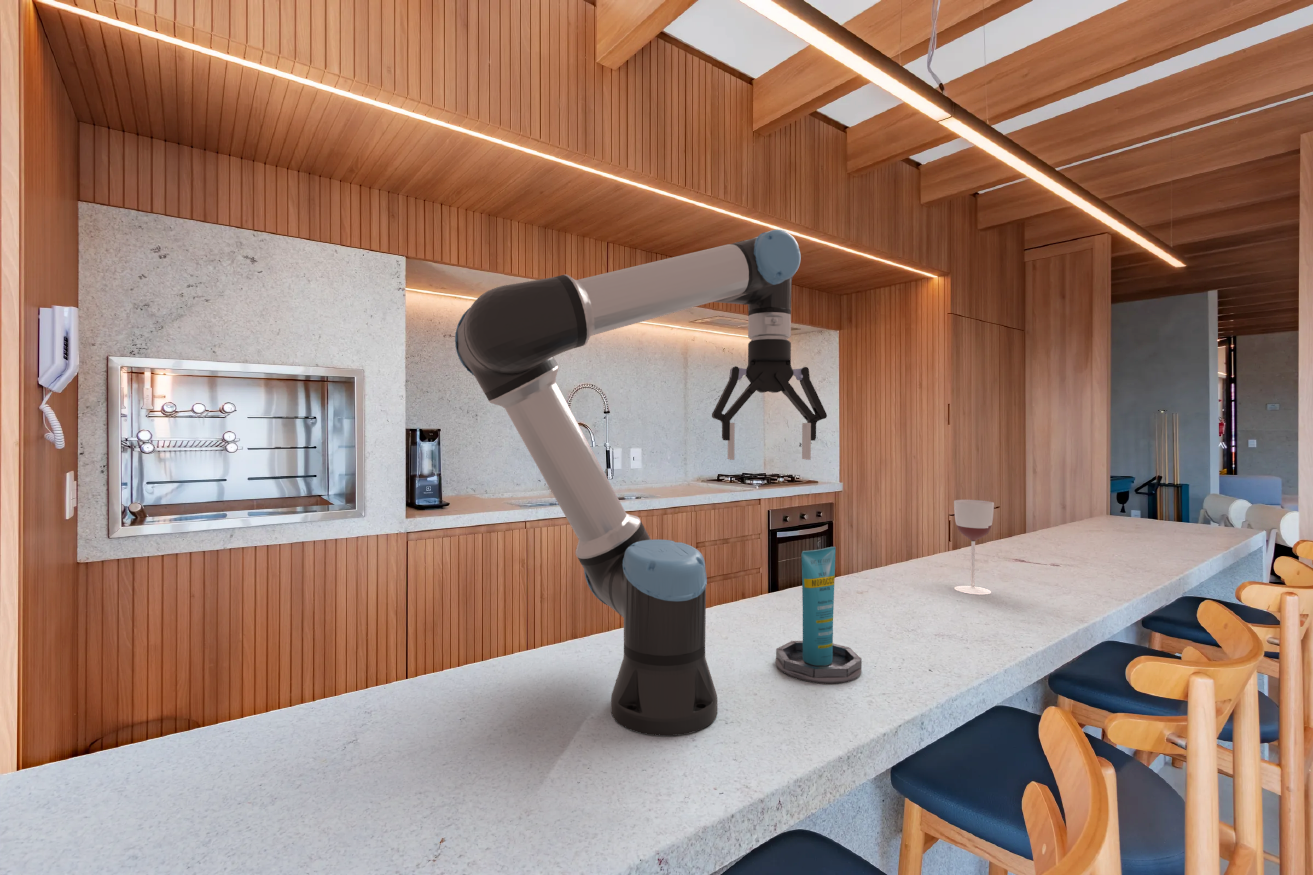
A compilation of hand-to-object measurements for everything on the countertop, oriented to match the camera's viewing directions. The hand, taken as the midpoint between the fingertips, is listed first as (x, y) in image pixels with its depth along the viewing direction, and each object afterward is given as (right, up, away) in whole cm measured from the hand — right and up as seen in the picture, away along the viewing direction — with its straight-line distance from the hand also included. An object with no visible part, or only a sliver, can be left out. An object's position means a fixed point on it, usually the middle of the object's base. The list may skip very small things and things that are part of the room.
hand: (768, 459), depth 111 cm
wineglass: (+59, -34, +44) cm, 81 cm away
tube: (+7, -34, -6) cm, 35 cm away
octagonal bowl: (+7, -35, -6) cm, 36 cm away
